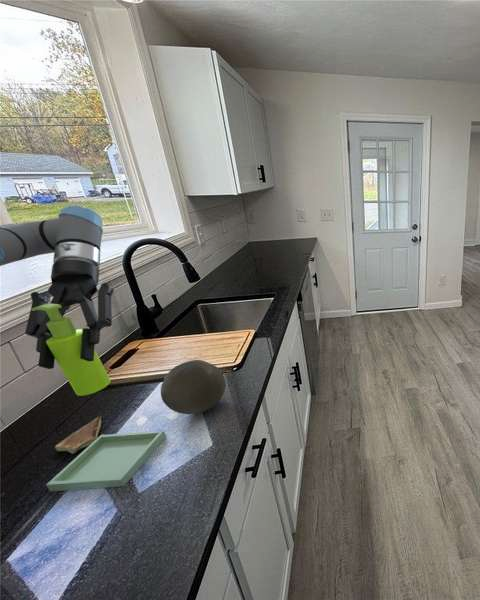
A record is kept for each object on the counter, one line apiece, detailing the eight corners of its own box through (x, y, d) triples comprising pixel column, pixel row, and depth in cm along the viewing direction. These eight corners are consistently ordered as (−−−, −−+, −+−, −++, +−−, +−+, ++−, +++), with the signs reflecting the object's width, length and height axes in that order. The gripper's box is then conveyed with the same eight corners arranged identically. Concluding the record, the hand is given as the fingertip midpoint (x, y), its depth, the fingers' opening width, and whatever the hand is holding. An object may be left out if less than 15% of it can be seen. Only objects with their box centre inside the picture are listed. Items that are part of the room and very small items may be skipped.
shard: (102, 419, 86) (100, 414, 86) (124, 422, 85) (122, 417, 84) (55, 451, 77) (52, 445, 76) (79, 455, 75) (75, 449, 74)
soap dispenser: (94, 377, 73) (52, 299, 66) (117, 379, 72) (77, 300, 64) (65, 394, 68) (15, 311, 60) (89, 396, 67) (42, 312, 59)
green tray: (50, 491, 66) (45, 484, 65) (104, 440, 79) (101, 434, 78) (124, 486, 66) (120, 479, 66) (166, 436, 79) (163, 430, 78)
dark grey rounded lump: (183, 400, 92) (166, 356, 87) (235, 389, 96) (222, 346, 90) (164, 435, 80) (143, 386, 74) (225, 421, 83) (209, 374, 77)
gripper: (8, 263, 66) (-13, 370, 58) (116, 252, 72) (111, 347, 63) (37, 280, 72) (22, 378, 64) (134, 268, 78) (132, 357, 70)
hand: (66, 363), depth 64 cm, fingers closed on soap dispenser, 6 cm apart
